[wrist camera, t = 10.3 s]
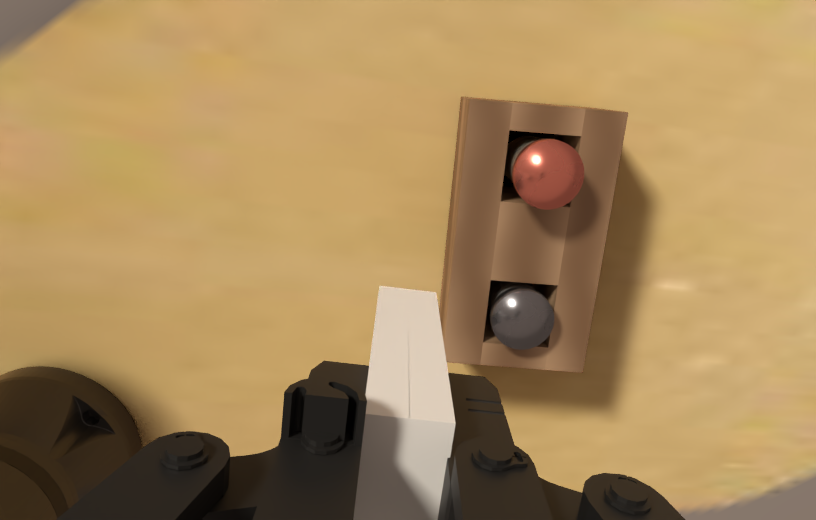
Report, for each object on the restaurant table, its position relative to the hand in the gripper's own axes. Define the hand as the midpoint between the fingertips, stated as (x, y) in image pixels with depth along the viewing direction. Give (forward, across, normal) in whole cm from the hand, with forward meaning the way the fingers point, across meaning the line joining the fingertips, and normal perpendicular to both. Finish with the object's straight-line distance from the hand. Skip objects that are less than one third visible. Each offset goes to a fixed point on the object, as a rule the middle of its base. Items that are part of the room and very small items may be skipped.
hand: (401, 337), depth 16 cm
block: (+32, +9, -3) cm, 33 cm away
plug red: (+30, +9, +2) cm, 31 cm away
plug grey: (+31, +9, -8) cm, 33 cm away
